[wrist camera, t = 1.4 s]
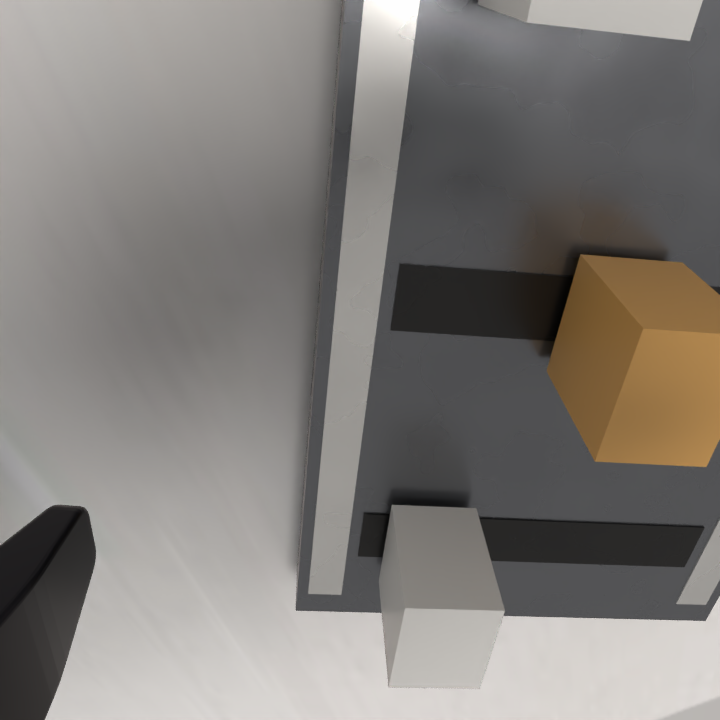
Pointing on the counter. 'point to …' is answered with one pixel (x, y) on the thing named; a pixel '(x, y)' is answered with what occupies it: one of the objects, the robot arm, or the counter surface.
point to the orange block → (640, 361)
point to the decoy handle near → (607, 15)
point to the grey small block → (437, 598)
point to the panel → (502, 301)
